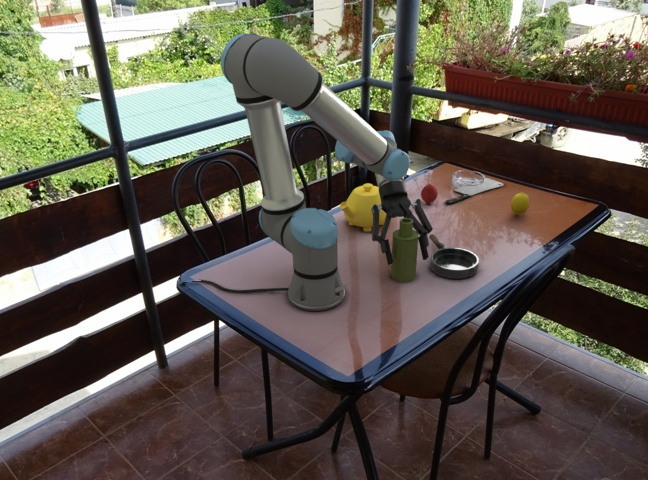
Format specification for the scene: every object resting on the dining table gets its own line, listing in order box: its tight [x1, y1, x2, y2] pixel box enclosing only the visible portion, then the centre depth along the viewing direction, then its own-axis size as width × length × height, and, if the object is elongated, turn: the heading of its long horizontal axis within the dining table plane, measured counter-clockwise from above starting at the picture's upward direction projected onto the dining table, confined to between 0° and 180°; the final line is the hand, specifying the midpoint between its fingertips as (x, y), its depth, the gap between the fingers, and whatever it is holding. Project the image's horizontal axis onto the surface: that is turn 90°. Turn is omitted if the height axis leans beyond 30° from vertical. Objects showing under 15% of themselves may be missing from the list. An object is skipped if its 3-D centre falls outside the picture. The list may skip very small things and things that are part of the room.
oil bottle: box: [390, 217, 420, 283], centre depth 153 cm, size 7×7×17 cm
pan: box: [429, 247, 480, 280], centre depth 158 cm, size 13×13×3 cm
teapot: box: [339, 182, 386, 232], centre depth 182 cm, size 20×16×14 cm
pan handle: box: [428, 233, 447, 250], centre depth 167 cm, size 2×10×2 cm, turn 10°
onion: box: [420, 181, 439, 205], centre depth 196 cm, size 6×6×8 cm
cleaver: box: [445, 177, 504, 205], centre depth 205 cm, size 29×1×10 cm
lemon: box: [510, 192, 530, 216], centre depth 184 cm, size 6×6×8 cm
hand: (408, 261), depth 151 cm, fingers open, 9 cm apart
